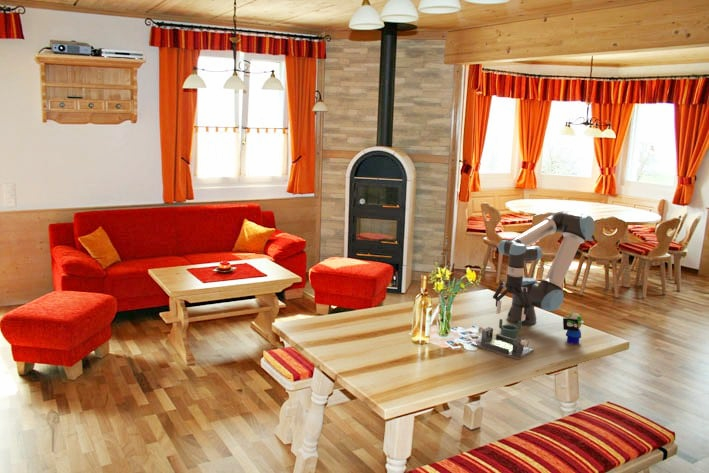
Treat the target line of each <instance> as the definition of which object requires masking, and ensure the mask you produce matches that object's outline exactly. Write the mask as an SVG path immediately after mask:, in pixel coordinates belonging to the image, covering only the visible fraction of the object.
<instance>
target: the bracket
mask: <svg viewBox="0 0 709 473" xmlns="http://www.w3.org/2000/svg"><path fill="white" fill-rule="evenodd" d="M522 326H523V325H522V321H519V322H518V324H517V326H516V325H513V324H503V319H501V318H499V324H498V328H499V329H500V330H501V331H500V335H502V336H505V337H509V338H512V339H515V338H517V337H519V331H522Z"/></svg>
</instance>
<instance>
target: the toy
mask: <svg viewBox="0 0 709 473" xmlns="http://www.w3.org/2000/svg"><path fill="white" fill-rule="evenodd" d="M584 323H585V321H584V320H583V319H582V316H581V315H580V314H579V313H576V312H572V313H571V314H569V316H568V317H563V318H562V324H563V325H562V326H563V328H562V329H563V330H564V331H565V330H566V333H565V336H566V337H567V338H566V342H567V343H571V344H574V345H579V344H580V339H581V338H582V331H581V327H582V324H584Z"/></svg>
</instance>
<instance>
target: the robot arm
mask: <svg viewBox="0 0 709 473" xmlns="http://www.w3.org/2000/svg"><path fill="white" fill-rule="evenodd" d="M595 228H596V224H595V220H594V219H593V217H592V216H591V215H588V214H584V213H579V212H578V213H577V212H572V211H568V210H564V211H563V210H562V211H558V212H554V213H552V214H550V215H548V216H545V217H544V218H542V220H541V222H539V223H537V224H535V225H534V226H532V227H530V228H529V229H527V230H525V231H523V232H521V233H520V234H518V235H517V236H515V237H513V238H511V239H510V240H508V239H502V240H500V242H498V246H497V249H498V250H497V251H498V252H499V254H501V255H504V256H507V257H508V264H507V273H506V279H505V280H506V282H505V281H501V282H499V286H498V288H497V290H496V291H495V292H494V294H493V295H492V299H494V300H495V308H496V312H495V314H497V315H499V314H501V310H502V309H501V308H502V298H504V297H505V296H506V295H507V294H508V293H509V294H512V298H511V299H512V300H511V306H510V308H509V310H508V312H507V317H506V319H507V320H508V321H509V322H510V323H513V324H517V325H518V322H519V321H522V326H523V325H524V326H525V325H527V326H529V325H534V324H536V323H537V314H536V311H535V310H536V309H535V307H537V308H539V309H543V310H545V311H550V312H553V311H556V310H558V309H559V308H560V307H561V306H562V304H563V302H564V297H565V294H564V292H563V290H564V288H563V286H562V284H563V282H564V280H565V279H566V278H565V277H566V275H567V273H568V271H569V269H570V267H571V264H572V262H573V260H574V258H575V256H576V254H577V251H578V249H579V247H580V245H581V244H585V241H586V239H590V238H592V237H593V235H594V234H595ZM555 233H562V236H563V238H562V240H561V244H560V245H559V248H558V250H557V252H556V254H555V256H554V258H553V261H552V263H551V265H550V267H549V270H548V272H547V274H546V276H545V278H542V279H540V282H539V283H538V280H537V279H536V278H532V277H524V270H525V264H526V263H529V262H530V263H531V262H536V261H540V260H541V259H542V257H543V250H542V248H541V247H540V246H538V245H533V244H535V243H537V242H538V241H540V240H542V239H544V238H545V237H547V236H548V235H554V234H555ZM504 288H505V290H504V291H503V289H504Z"/></svg>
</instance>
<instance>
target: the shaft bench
mask: <svg viewBox="0 0 709 473" xmlns="http://www.w3.org/2000/svg"><path fill="white" fill-rule="evenodd" d="M477 332H478V333H480V334H481V337H480V338H479V337H478V339H475V340H473V341H474V342H476V344H477V346H478V348H480V349H484V350H487V351H489V352H493V353H496V354H499V355H502V356H505V357H508V358H510V359H514V360H517V361H518V360H519V361H520V360H521V359H523V358H524V357H526V356H528V355H530V354H532V353H534V352H535V351H534V350H535V349H534V348H531V347H528V346H529V341H528V340H525V337H523V336H519V335H518V337H517V338H515V339H512V338H509V337H505V336H502V335H501V334H498V333H497V334H496V335H495V336H494V327H491V326H488V327H486V328H484V327H482V326H479V327H478V330H477ZM477 346H476V347H477Z"/></svg>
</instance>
